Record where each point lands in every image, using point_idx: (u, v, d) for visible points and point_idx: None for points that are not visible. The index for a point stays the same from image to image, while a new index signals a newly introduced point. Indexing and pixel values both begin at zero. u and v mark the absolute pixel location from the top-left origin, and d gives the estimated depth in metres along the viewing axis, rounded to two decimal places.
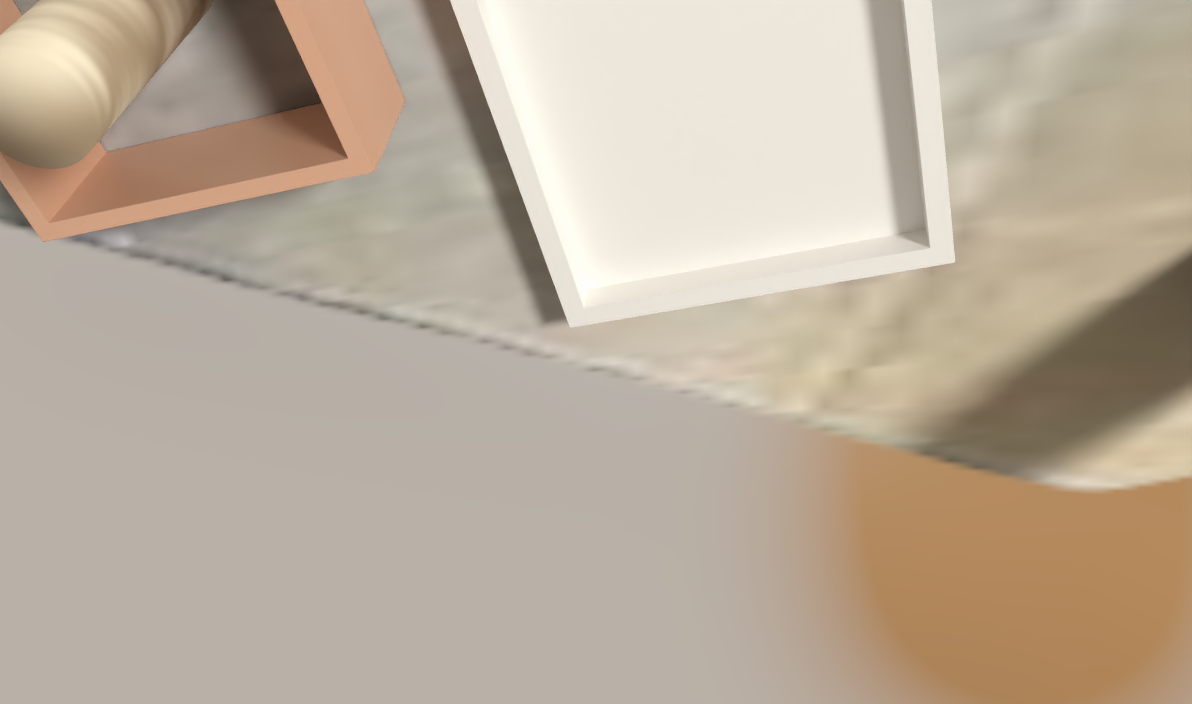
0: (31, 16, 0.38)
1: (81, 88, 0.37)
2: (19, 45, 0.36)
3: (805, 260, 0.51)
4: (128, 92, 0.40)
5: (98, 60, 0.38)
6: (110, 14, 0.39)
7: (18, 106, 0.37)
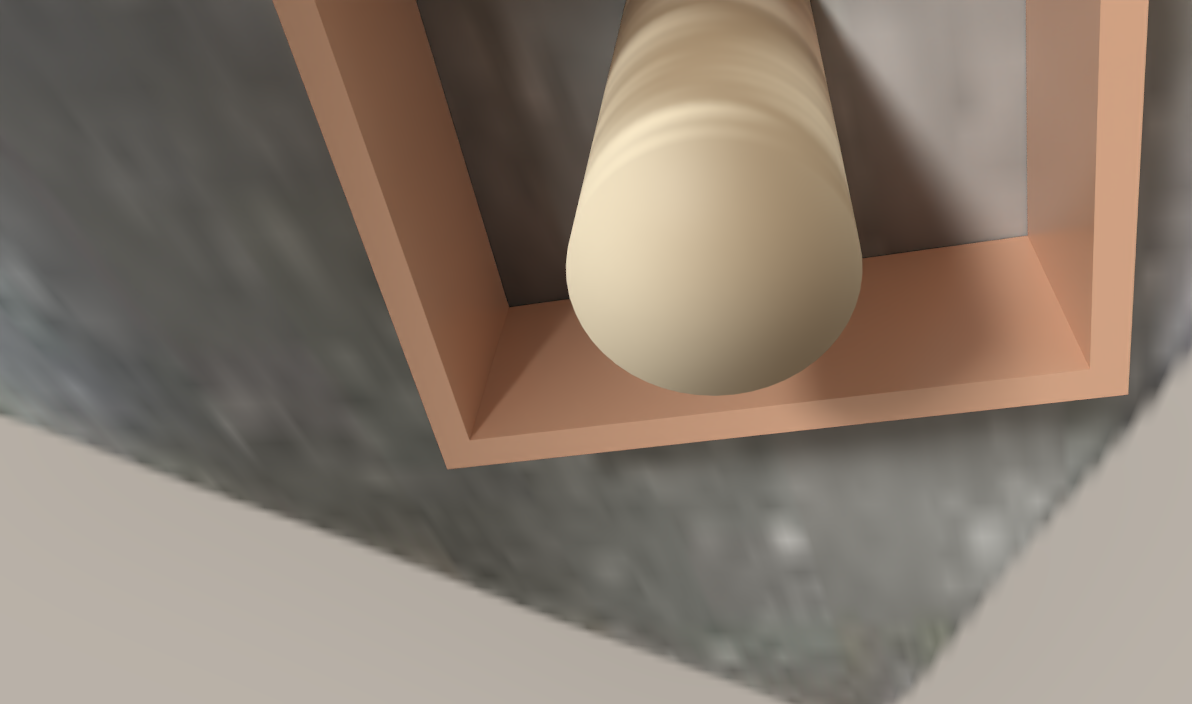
0: None
1: (667, 144, 0.16)
2: (570, 236, 0.17)
3: None
4: (770, 79, 0.18)
5: (660, 102, 0.17)
6: (631, 70, 0.19)
7: (698, 291, 0.17)
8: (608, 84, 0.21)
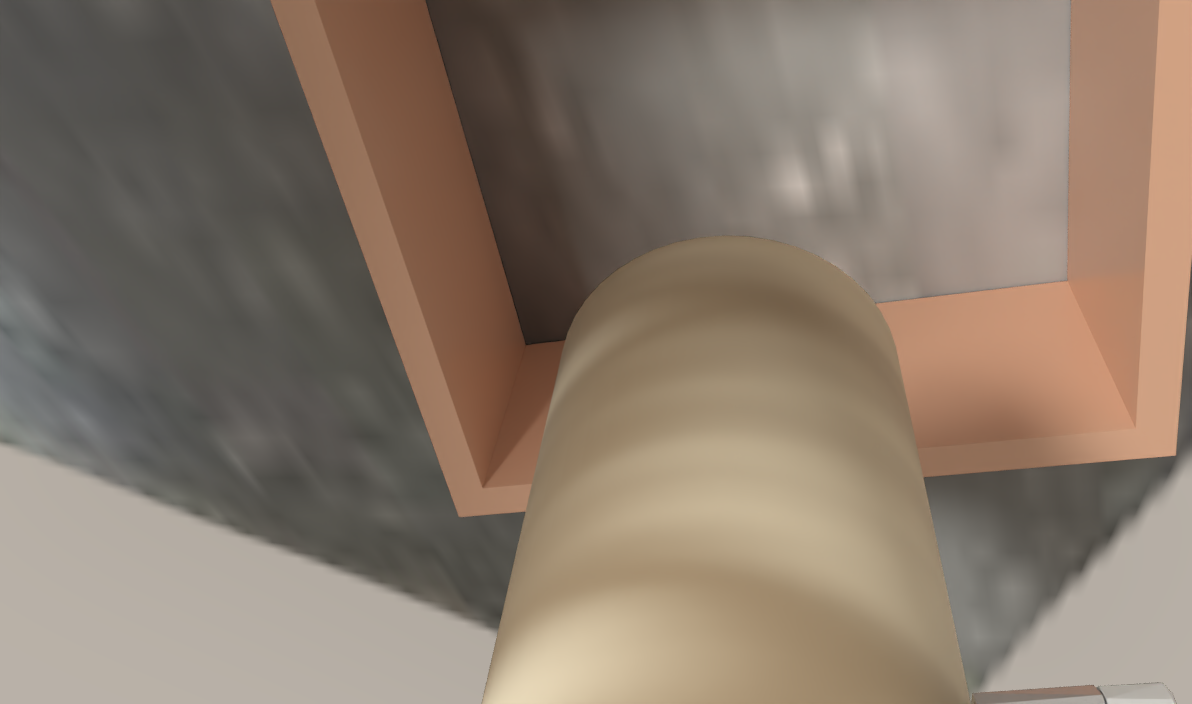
0: None
1: None
2: None
3: None
4: None
5: None
6: None
7: None
8: None
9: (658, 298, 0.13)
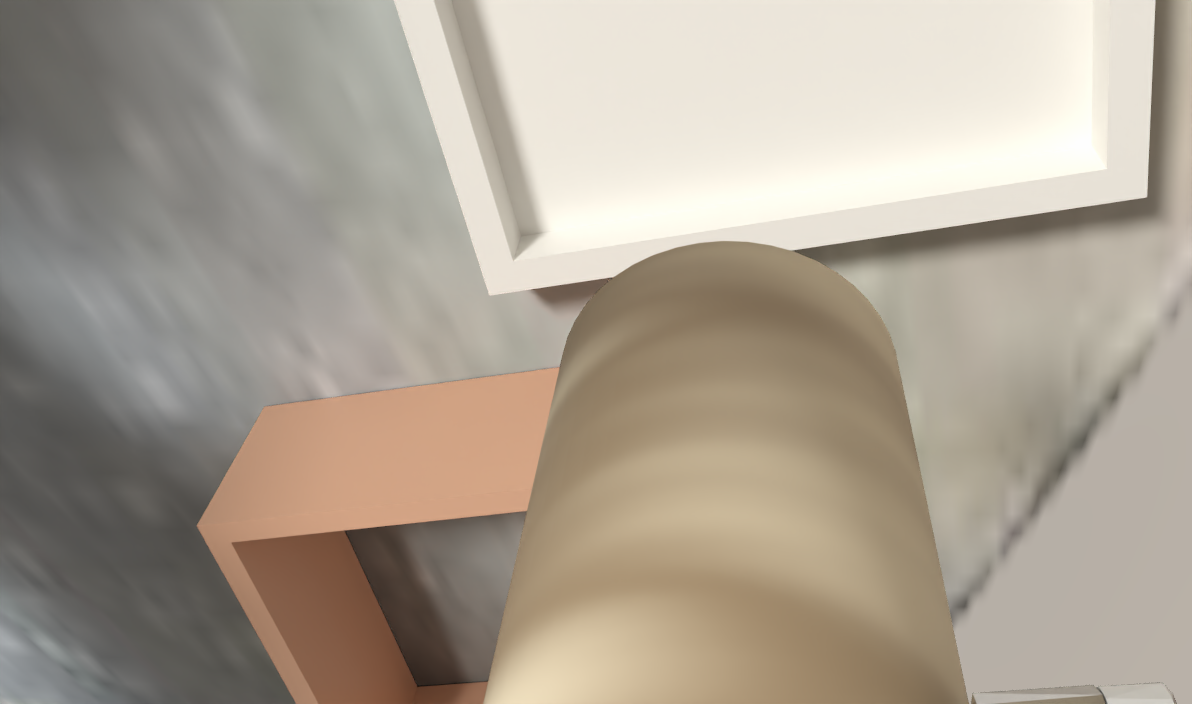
0: None
1: None
2: None
3: None
4: None
5: None
6: None
7: None
8: None
9: (657, 304, 0.13)
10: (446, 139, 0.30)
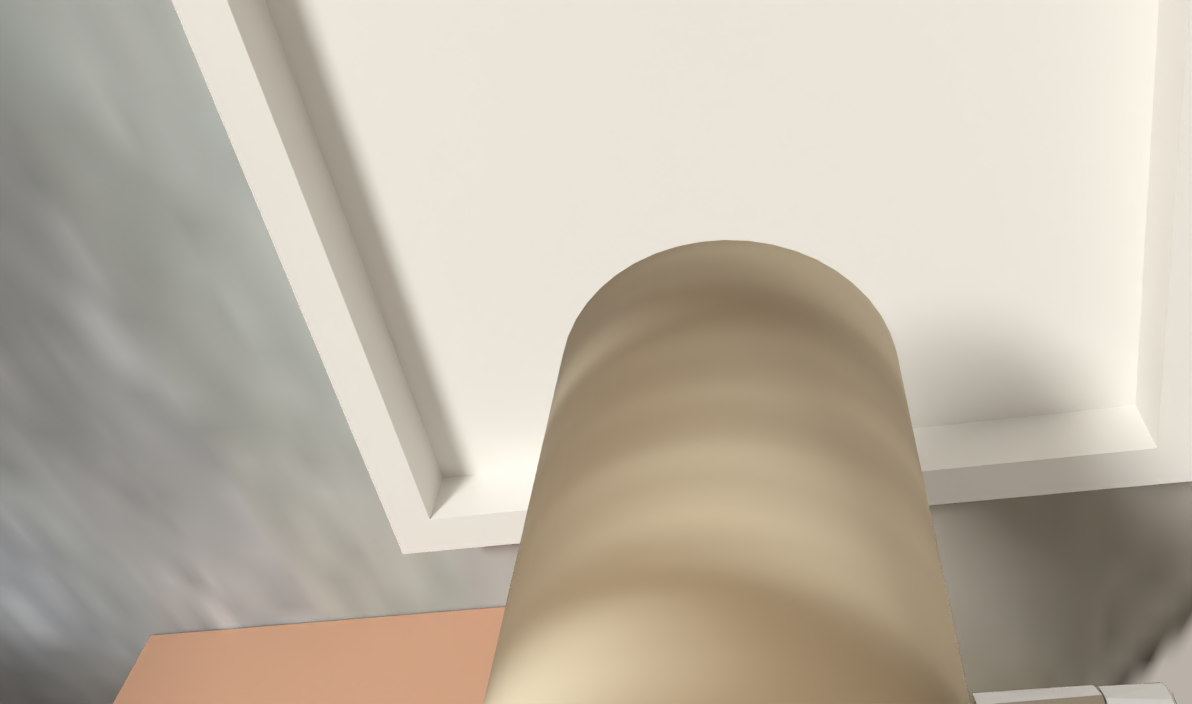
0: None
1: None
2: None
3: None
4: None
5: None
6: None
7: None
8: None
9: (658, 304, 0.13)
10: (343, 389, 0.24)
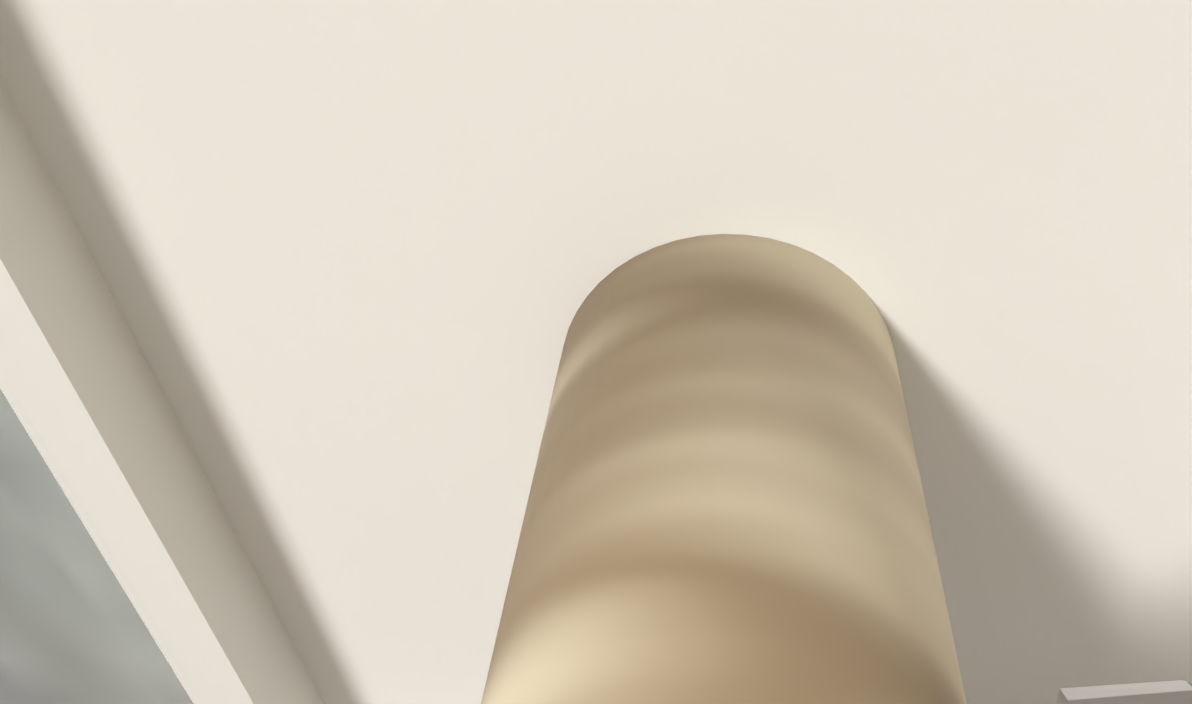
0: None
1: None
2: None
3: None
4: None
5: None
6: None
7: None
8: None
9: (657, 296, 0.13)
10: None
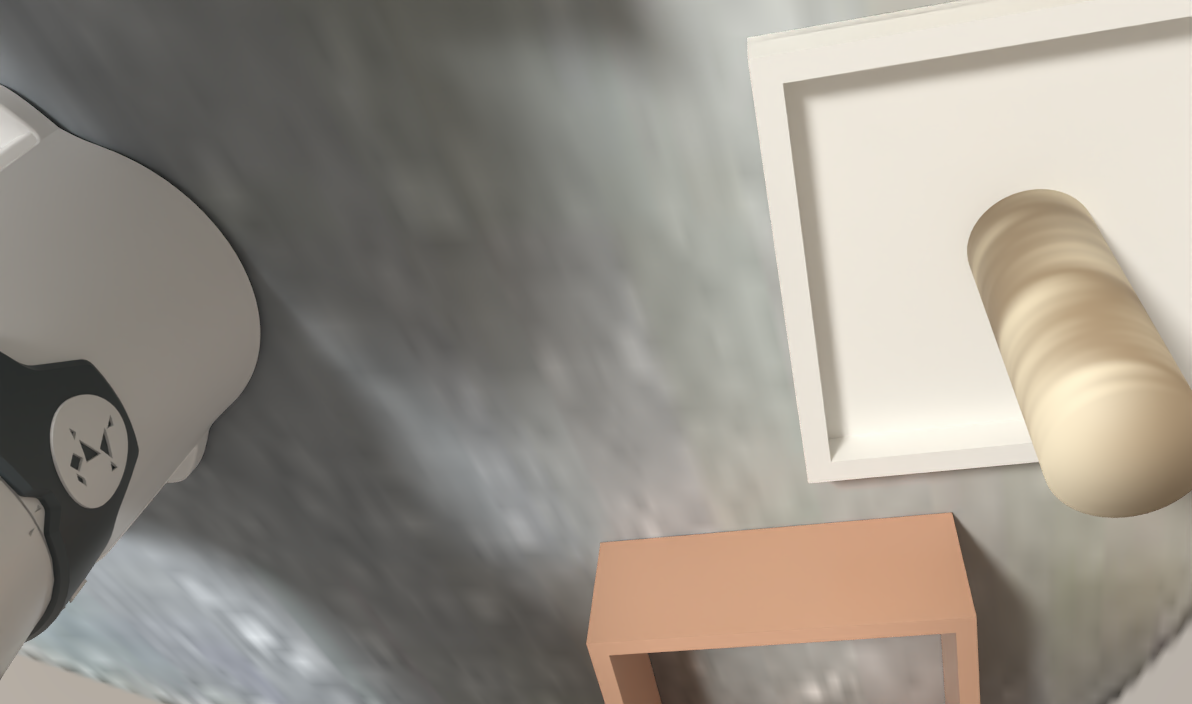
0: (1023, 403, 0.33)
1: (1118, 392, 0.29)
2: (1047, 433, 0.31)
3: None
4: (1147, 339, 0.32)
5: (1094, 357, 0.31)
6: (1047, 321, 0.33)
7: (1118, 464, 0.31)
8: (1016, 319, 0.35)
9: (1024, 209, 0.38)
10: (800, 384, 0.43)
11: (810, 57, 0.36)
